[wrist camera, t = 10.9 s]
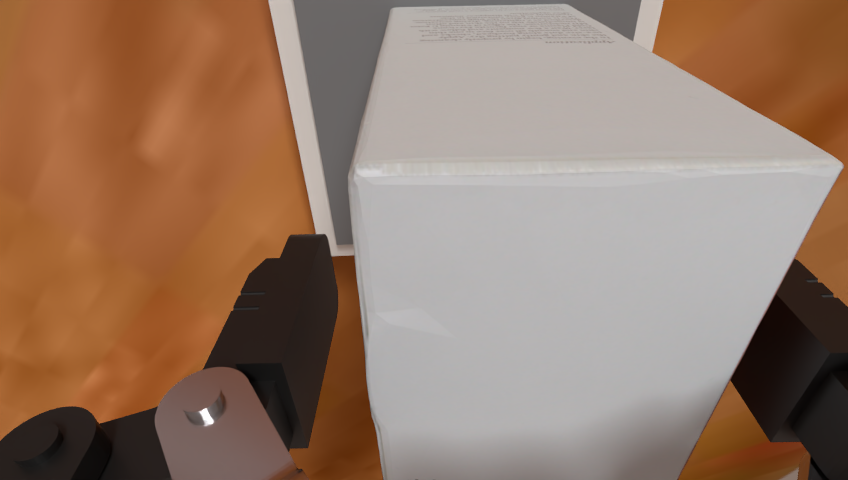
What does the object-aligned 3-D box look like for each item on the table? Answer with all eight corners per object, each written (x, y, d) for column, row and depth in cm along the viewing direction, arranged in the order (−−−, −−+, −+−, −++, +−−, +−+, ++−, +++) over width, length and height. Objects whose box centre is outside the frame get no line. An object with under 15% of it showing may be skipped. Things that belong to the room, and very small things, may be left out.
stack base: (645, -111, 18) (696, -116, 15) (587, 208, 26) (611, 251, 22) (276, -93, 18) (244, -95, 15) (331, 218, 26) (319, 262, 23)
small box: (543, 201, 21) (674, 505, 10) (399, 204, 21) (379, 511, 10) (572, -4, 16) (870, 159, 6) (388, 1, 16) (329, 171, 6)
